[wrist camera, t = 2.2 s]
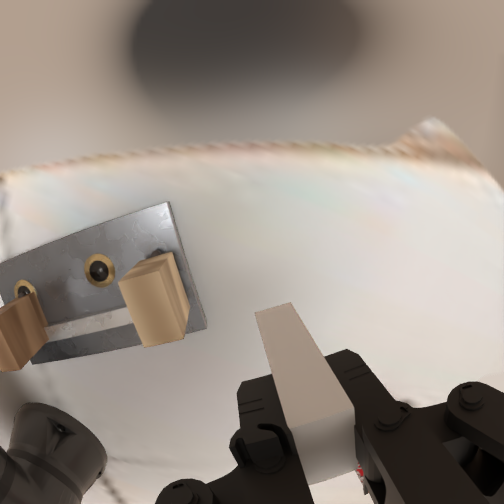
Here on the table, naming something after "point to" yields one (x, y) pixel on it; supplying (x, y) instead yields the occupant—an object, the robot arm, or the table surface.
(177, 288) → the block
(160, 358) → the table surface
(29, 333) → the fixed leg
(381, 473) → the robot arm
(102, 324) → the bolt plate
